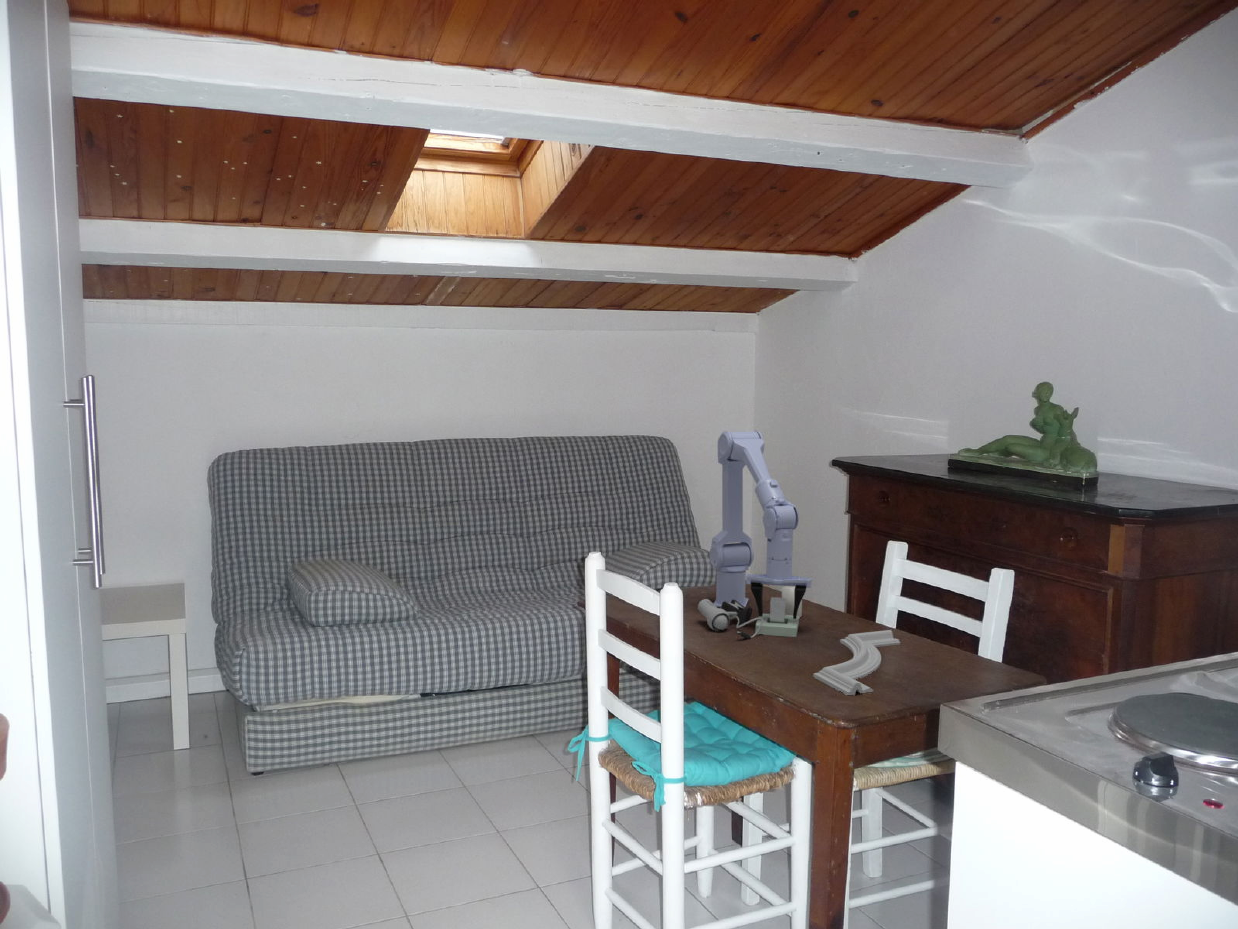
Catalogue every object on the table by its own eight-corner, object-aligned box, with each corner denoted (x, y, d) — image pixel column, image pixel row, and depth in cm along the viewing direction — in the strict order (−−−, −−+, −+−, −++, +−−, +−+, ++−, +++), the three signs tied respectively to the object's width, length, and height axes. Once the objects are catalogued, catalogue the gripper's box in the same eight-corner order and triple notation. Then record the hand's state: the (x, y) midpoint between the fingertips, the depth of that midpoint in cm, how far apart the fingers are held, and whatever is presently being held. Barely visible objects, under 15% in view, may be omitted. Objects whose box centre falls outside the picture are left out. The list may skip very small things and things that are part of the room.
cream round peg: (782, 613, 239) (782, 584, 238) (802, 614, 238) (803, 586, 237) (780, 618, 234) (781, 589, 234) (800, 619, 233) (801, 590, 233)
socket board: (759, 621, 231) (759, 613, 231) (798, 624, 229) (798, 615, 229) (755, 634, 220) (755, 625, 220) (796, 637, 218) (796, 628, 218)
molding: (869, 702, 179) (870, 687, 178) (803, 692, 184) (803, 677, 183) (902, 642, 217) (903, 629, 217) (847, 635, 222) (847, 622, 222)
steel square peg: (770, 627, 226) (771, 597, 226) (784, 628, 226) (785, 598, 225) (769, 630, 223) (770, 600, 223) (783, 631, 223) (784, 601, 222)
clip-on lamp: (771, 650, 219) (733, 613, 235) (777, 624, 217) (739, 589, 233) (725, 650, 214) (690, 613, 230) (731, 624, 213) (695, 588, 228)
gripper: (745, 559, 221) (744, 618, 222) (811, 563, 217) (809, 623, 219) (748, 553, 227) (747, 611, 229) (812, 557, 224) (810, 615, 226)
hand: (777, 616), depth 224 cm, fingers open, 7 cm apart
